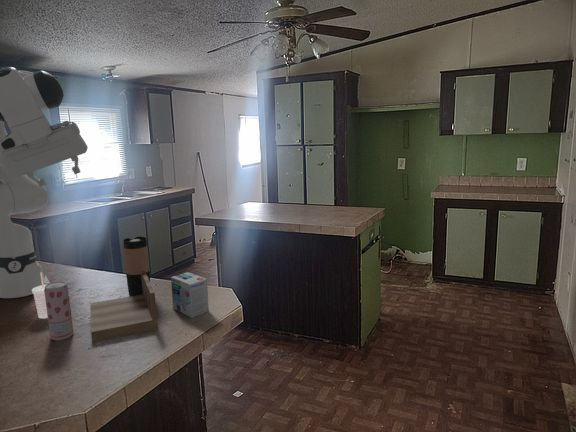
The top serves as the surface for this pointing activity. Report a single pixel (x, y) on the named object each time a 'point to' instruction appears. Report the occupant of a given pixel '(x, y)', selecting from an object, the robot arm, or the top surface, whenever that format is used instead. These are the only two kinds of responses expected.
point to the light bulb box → (190, 294)
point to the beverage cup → (40, 299)
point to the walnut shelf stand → (124, 314)
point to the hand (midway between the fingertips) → (60, 179)
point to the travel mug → (136, 263)
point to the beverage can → (58, 310)
